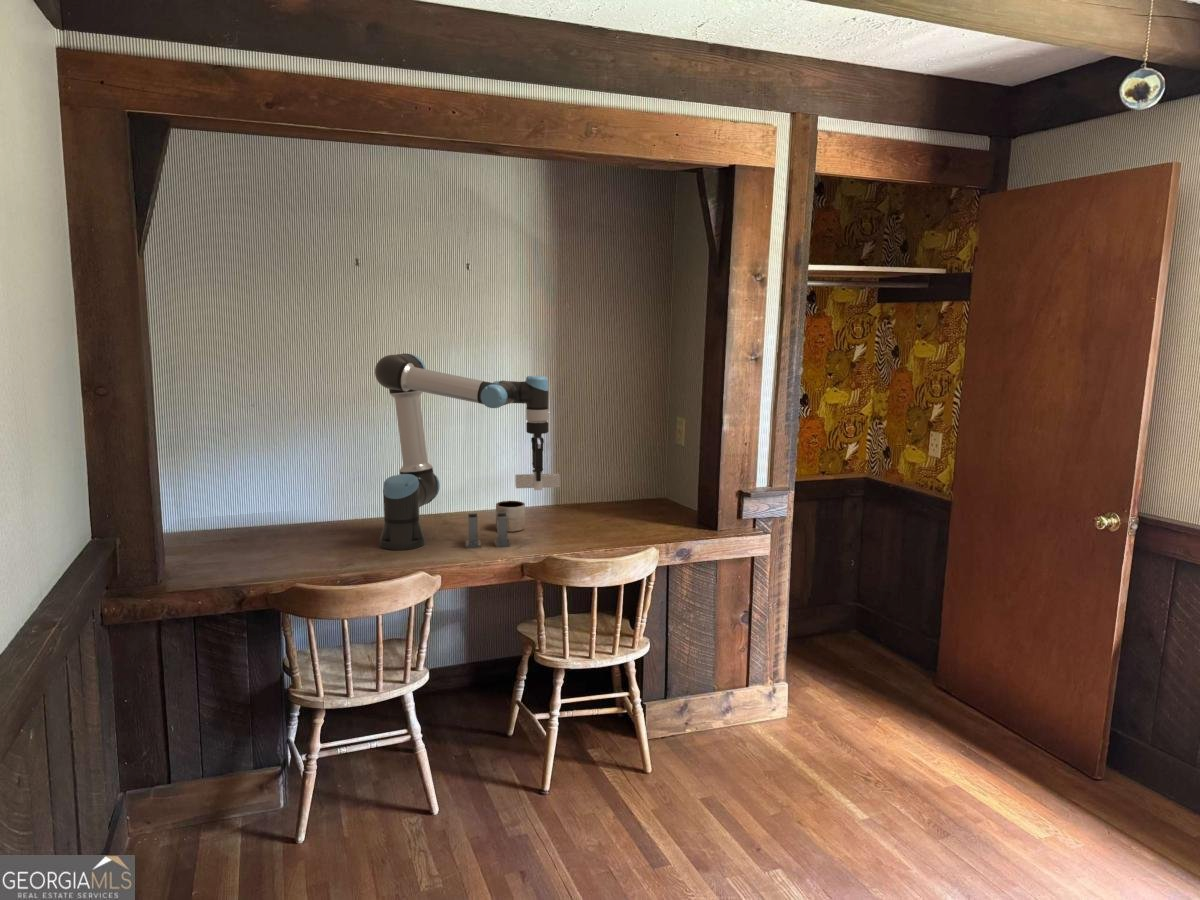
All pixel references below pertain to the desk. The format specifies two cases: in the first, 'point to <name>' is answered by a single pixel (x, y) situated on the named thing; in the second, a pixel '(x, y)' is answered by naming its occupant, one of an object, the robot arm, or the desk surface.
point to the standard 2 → (502, 531)
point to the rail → (528, 480)
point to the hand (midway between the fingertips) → (537, 488)
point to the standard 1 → (473, 531)
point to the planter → (512, 514)
